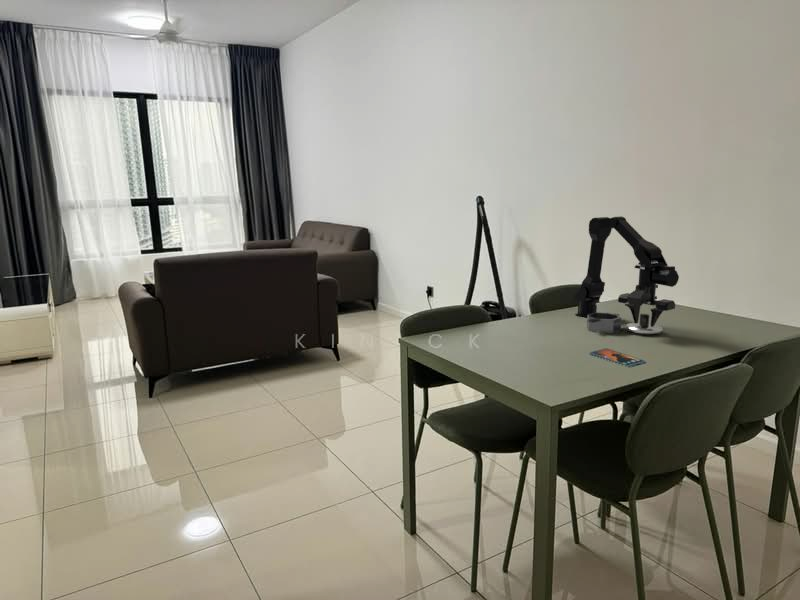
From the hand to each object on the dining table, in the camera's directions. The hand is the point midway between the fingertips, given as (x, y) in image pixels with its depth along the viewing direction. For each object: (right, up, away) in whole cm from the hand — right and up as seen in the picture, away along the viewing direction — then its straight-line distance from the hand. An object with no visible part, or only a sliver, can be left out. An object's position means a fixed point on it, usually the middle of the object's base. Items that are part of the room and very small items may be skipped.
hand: (644, 325), depth 201 cm
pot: (-13, -2, +5) cm, 14 cm away
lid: (0, -3, 0) cm, 3 cm away
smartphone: (-21, -10, -28) cm, 36 cm away
